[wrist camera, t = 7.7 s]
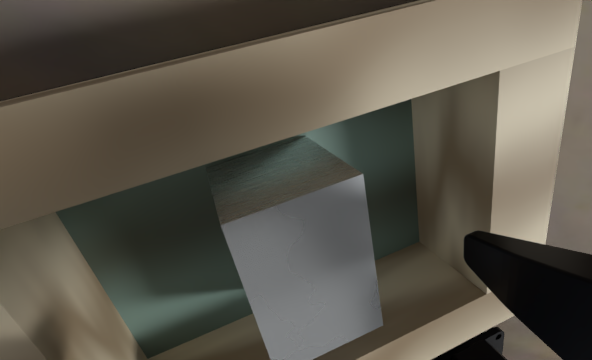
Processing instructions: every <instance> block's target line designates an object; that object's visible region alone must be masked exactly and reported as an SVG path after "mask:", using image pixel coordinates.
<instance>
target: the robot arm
mask: <svg viewBox="0 0 592 360" xmlns="http://www.w3.org/2000/svg"><path fill="white" fill-rule="evenodd" d="M463 257H464V260H465V262H466V264H467V265H468V266H469V268H470V269H471V270H472V271H473V272H474V273H475V274H476V275H477V276H478V277H479V279H480V280H481V281H482V282H483V283H484V284H485V285H486V286H487V287H488V288H489V289H490V291H491V292H492V293H493V294H494V295H495V296H496V297H497V298H498V299H499V300H500V301H501V302H502V304H503V305H504V306H505V307H506V308H507V309H508V310H510V311H511V312H512V313H513V314H514V315H515V316H516V317H517V318H518V319H519V320H520V321H521V322H522V323H524V324H525V325H526V326H527V327H528V328H529V329H530V330H531V331H532V332H533V333H534V334H535V335H537V336H538V337H539V338H540V339H541V340H542V341H543V342H544V343H545V344H546V345H547V346H549V347H550V348H551V349H552V350H553V351H554V352H555V353H556V354H557V355H558V356H559V357H561V358H562V359H563V360H592V255H591V254H586V253H582V252H577V251H572V250H568V249H563V248H558V247H554V246H549V245H545V244H540V243H535V242H531V241H526V240H521V239H517V238H512V237H508V236H503V235H498V234H494V233H489V232H484V231H479V230H477V231H474V232H471V233H469V234H467V235H465V237H464V251H463ZM503 341H504V332H503V331H502V330H501V329H500V328H498V327H495V328H493V329H491V330H489V331H487V332H485V333H483V334H481V335H479V336H478V337H476V338H474V339H472V340H470V341H468V342H466V343H464V344H462V345H461V346H459V347H457V348H455V349H453V350H451V351H449V352H447V353H446V354H444V355H442V356H440V357H438V358H436V359H434V360H507V359H506V358H505V357H504V356H503V355H502V351H503Z"/></svg>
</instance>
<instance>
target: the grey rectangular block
mask: <svg viewBox="0 0 592 360" xmlns="http://www.w3.org/2000/svg"><path fill="white" fill-rule="evenodd" d="M205 168H206V171H207V175H208V179H209V183H210V187H211V191H212V194H213V198H214V202H215V206H216V210H217V214H218V217H219V221H220V225H221V228H222V231H223V233H224V236H225V239H226V241H227V244H228V247H229V249H230V252H231V255H232V257H233V260H234V263H235V265H236V268H237V271H238V274H239V276H240V279H241V282H242V284H243V287H244V290H245V292H246V295H247V298H248V300H249V303H250V306H251V308H252V311H253V314H254V317H255V319H256V322H257V325H258V327H259V330H260V333H261V335H262V338H263V341H264V343H265V346H266V349H267V351H268V354H269V357H270V359H271V360H313V359H315V358H317V357H319V356H321V355H323V354H325V353H327V352H329V351H331V350H333V349H335V348H337V347H340V346H342V345H344V344H346V343H348V342H350V341H352V340H354V339H356V338H358V337H360V336H362V335H364V334H366V333H369V332H371V331H373V330H375V329H377V328H379V327H381V326H383V320H382V312H381V305H380V297H379V289H378V282H377V274H376V267H375V259H374V252H373V244H372V237H371V229H370V222H369V214H368V206H367V199H366V191H365V184H364V176H363V173H361V172H360V171H358V170H356V169H355V168H353V167H352V166H350V165H349V164H347V163H346V162H344V161H343V160H341V159H340V158H338V157H337V156H335V155H334V154H332V153H331V152H329V151H328V150H326V149H325V148H323V147H321V146H320V145H318V144H317V143H315V142H314V141H312V140H311V139H309V138H308V137H306V136H303V137H300V138H297V139H293V140H290V141H287V142H284V143H281V144H278V145H275V146H271V147H268V148H265V149H262V150H259V151H256V152H253V153H249V154H246V155H243V156H240V157H237V158H234V159H231V160H227V161H224V162H221V163H218V164H215V165H212V166H209V167H205Z"/></svg>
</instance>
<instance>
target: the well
mask: <svg viewBox="0 0 592 360" xmlns="http://www.w3.org/2000/svg"><path fill="white" fill-rule="evenodd" d="M581 6H582V0H417V1H413V2H409V3H405V4H401V5H397V6H392V7H388V8H384V9H380V10H376V11H372V12H368V13H364V14H359V15H355V16H351V17H347V18H343V19H339V20H335V21H331V22H326V23H322V24H318V25H314V26H310V27H306V28H302V29H298V30H293V31H289V32H285V33H281V34H277V35H273V36H269V37H265V38H260V39H256V40H252V41H248V42H244V43H240V44H236V45H231V46H227V47H223V48H219V49H215V50H211V51H207V52H203V53H198V54H194V55H190V56H186V57H182V58H178V59H174V60H170V61H165V62H161V63H157V64H153V65H149V66H145V67H141V68H137V69H132V70H128V71H124V72H120V73H116V74H112V75H108V76H104V77H99V78H95V79H91V80H87V81H83V82H79V83H75V84H70V85H66V86H62V87H58V88H54V89H50V90H46V91H42V92H37V93H33V94H29V95H25V96H21V97H17V98H13V99H9V100H4V101H0V360H271V359H270V357H269V354H268V351H267V349H266V346H265V343H264V341H263V338H262V335H261V333H260V330H259V327H258V325H257V322H256V319H255V317H254V314H253V311H252V308H251V306H250V303H249V300H248V298H247V295H246V292H245V290H244V287H243V284H242V282H241V279H240V276H239V274H238V271H237V268H236V265H235V263H234V260H233V257H232V255H231V252H230V249H229V247H228V244H227V241H226V239H225V236H224V233H223V231H222V228H221V225H220V221H219V217H218V214H217V210H216V206H215V202H214V198H213V194H212V191H211V187H210V183H209V179H208V175H207V171H206V168H205V167H209V166H212V165H215V164H218V163H221V162H224V161H227V160H231V159H234V158H237V157H240V156H243V155H246V154H249V153H253V152H256V151H259V150H262V149H265V148H268V147H271V146H275V145H278V144H281V143H284V142H287V141H290V140H293V139H297V138H300V137H303V136H306V137H308V138H309V139H311V140H312V141H314V142H315V143H317V144H318V145H320V146H321V147H323V148H325V149H326V150H328V151H329V152H331V153H332V154H334V155H335V156H337V157H338V158H340V159H341V160H343V161H344V162H346V163H347V164H349V165H350V166H352V167H353V168H355V169H356V170H358V171H360V172H361V173H363V176H364V184H365V191H366V199H367V206H368V214H369V222H370V229H371V237H372V244H373V252H374V259H375V267H376V274H377V282H378V289H379V297H380V305H381V312H382V320H383V326H381V327H379V328H377V329H375V330H373V331H371V332H369V333H366V334H364V335H362V336H360V337H358V338H356V339H354V340H352V341H350V342H348V343H346V344H344V345H342V346H340V347H337V348H335V349H333V350H331V351H329V352H327V353H325V354H323V355H321V356H319V357H317V358H315V359H313V360H431V359H433V358H435V357H437V356H439V355H441V354H443V353H445V352H446V351H448V350H450V349H452V348H454V347H456V346H458V345H460V344H462V343H463V342H465V341H467V340H469V339H471V338H473V337H475V336H477V335H478V334H480V333H482V332H484V331H486V330H488V329H490V328H492V327H494V326H495V325H497V324H499V323H501V322H503V321H505V320H507V319H509V318H511V317H512V316H514V314H513V313H512V312H511V311H510V310H508V309H507V308H506V307H505V306H504V305H503V304H502V302H501V301H500V300H499V299H498V298H497V297H496V296H495V295H494V294H493V293H492V292H491V291H490V289H489V288H488V287H487V286H486V285H485V284H484V283H483V282H482V281H481V280H480V279H479V277H478V276H477V275H476V274H475V273H474V272H473V271H472V270H471V269H470V268H469V266H468V265H467V264H466V262H465V260H464V257H463V251H464V237H465V235H467V234H469V233H471V232H474V231H477V230H479V231H484V232H489V233H494V234H498V235H503V236H508V237H512V238H517V239H521V240H526V241H531V242H535V243H540V244H545V243H546V237H547V230H548V224H549V217H550V210H551V204H552V197H553V191H554V184H555V178H556V171H557V164H558V158H559V151H560V145H561V138H562V131H563V125H564V118H565V112H566V105H567V98H568V92H569V85H570V79H571V72H572V66H573V59H574V52H575V46H576V39H577V33H578V26H579V19H580V13H581Z"/></svg>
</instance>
